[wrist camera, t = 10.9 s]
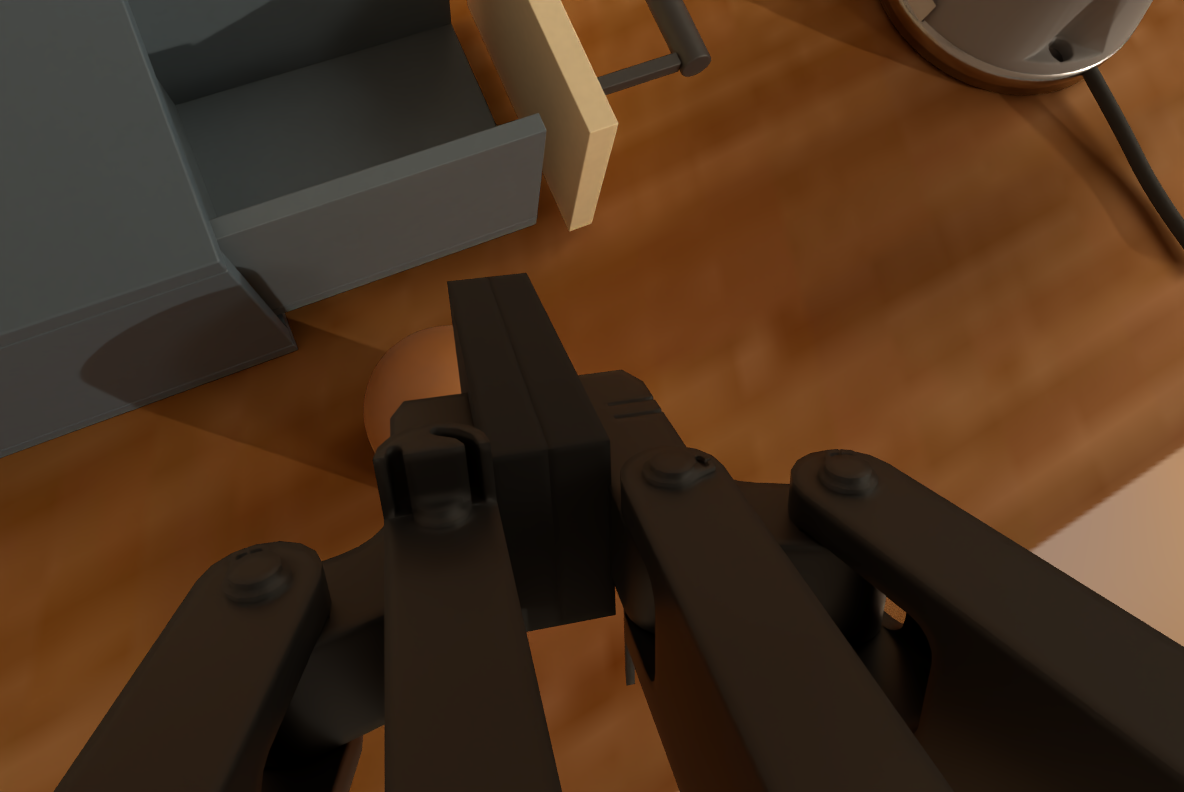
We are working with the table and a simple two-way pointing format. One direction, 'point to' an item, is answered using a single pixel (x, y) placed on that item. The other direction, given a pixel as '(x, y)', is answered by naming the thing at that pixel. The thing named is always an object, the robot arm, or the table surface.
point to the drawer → (383, 128)
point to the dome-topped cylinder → (410, 377)
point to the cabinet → (104, 233)
